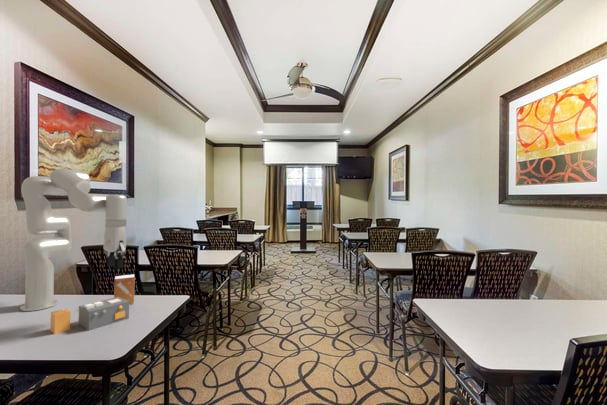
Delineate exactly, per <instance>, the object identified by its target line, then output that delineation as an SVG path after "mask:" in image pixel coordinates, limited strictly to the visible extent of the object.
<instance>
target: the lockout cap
mask: <svg viewBox="0 0 607 405" xmlns="http://www.w3.org/2000/svg"><path fill="white" fill-rule="evenodd" d="M69 330H71V310H69V309H68V308H62V309H57V310H55V311H50V332H51V333H53V334H54V335H57V334H59V333H63V332H66V331H69Z"/></svg>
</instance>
